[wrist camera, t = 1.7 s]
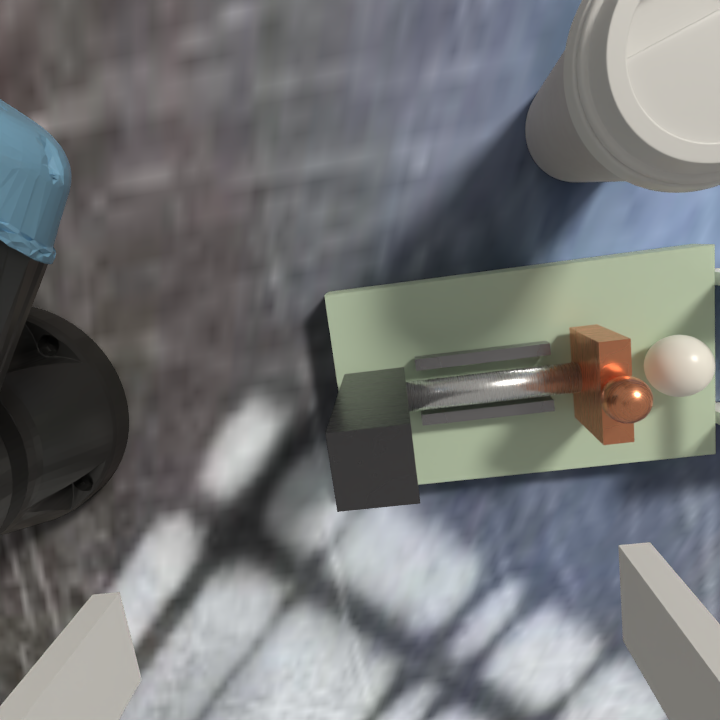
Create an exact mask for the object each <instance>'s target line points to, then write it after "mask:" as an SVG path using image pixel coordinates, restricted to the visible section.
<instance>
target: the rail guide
mask: <svg viewBox="0 0 720 720" xmlns="http://www.w3.org/2000/svg"><path fill="white" fill-rule="evenodd" d="M546 355H551V348H550V343H549V342H547V341H538V342H530V343H522V344H514V345H505V346H497V347H489V348H481V349H472V350H464V351H456V352H448V353H439V354H431V355H423V356H415V357H414V359H415V367H416V371H420V370H428V369H436V368H445V367H453V366H462V365H470V364H478V363H487V362H495V361H504V360H512V359H520V358H529V357H537V356H546ZM551 411H555V408H554V400H553V399H552V398H551V397H550V396H545V397H536V398H527V399H518V400H509V401H501V402H492V403H483V404H474V405H465V406H457V407H448V408H439V409H430V410H421V418H422V425H423V426H425V425H434V424H443V423H452V422H461V421H470V420H479V419H488V418H497V417H506V416H515V415H524V414H533V413H542V412H551Z"/></svg>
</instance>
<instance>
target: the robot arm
mask: <svg viewBox="0 0 720 720" xmlns="http://www.w3.org/2000/svg"><path fill="white" fill-rule="evenodd" d="M70 187H71V169H70V165H69V161H68V159H67V157H66V155H65V152H64V151H63V149H62V148H61V146H60V145H59V143H58V142H57V141H56V140H55V139H54V138H53V137H52V135H50V134H49V133H48V132H47V131H46V130H45V129H44V128H42V127H41V126H40V125H38V124H37V123H35V122H34V121H33V120H31V119H30V118H28V117H27V116H25V115H24V114H22V113H21V112H19V111H18V110H16V109H14V108H13V107H11V106H10V105H8V104H7V103H5V102H3V101H2V100H0V535H3V534H7V533H10V532H13V531H17V530H20V529H23V528H27V527H30V526H33V525H37V524H40V523H43V522H47V521H50V520H53V519H56V518H59V517H61V516H63V515H65V514H67V513H69V512H71V511H72V510H74V509H76V508H77V507H79V506H80V505H82V504H83V503H84V502H85V501H86V500H88V499H89V498H90V497H91V496H92V495H93V494H95V493H96V492H97V491H98V490H99V489H100V488H102V487H103V486H104V485H105V484H106V482H107V481H108V480H109V479H110V478H111V476H112V475H113V474H114V472H115V471H116V469H117V467H118V466H119V463H120V461H121V459H122V457H123V454H124V451H125V448H126V444H127V439H128V432H129V413H128V406H127V400H126V396H125V393H124V390H123V387H122V384H121V381H120V379H119V377H118V375H117V373H116V371H115V369H114V367H113V366H112V364H111V362H110V361H109V359H108V358H107V356H106V355H105V354H104V352H103V351H102V350H101V349H100V348H99V346H98V345H97V344H96V343H95V342H94V341H93V340H92V339H91V338H90V337H89V336H88V335H86V334H85V333H84V332H83V331H82V330H80V329H79V328H77V327H76V326H75V325H73V324H72V323H70V322H68V321H67V320H65V319H63V318H61V317H59V316H57V315H55V314H53V313H50V312H48V311H45V310H42V309H38V308H35V307H32V304H33V302H34V299H35V296H36V294H37V291H38V289H39V286H40V283H41V281H42V278H43V276H44V273H45V270H46V268H47V265H48V264H53V261H54V259H55V254H56V251H55V249H54V247H53V246H54V242H55V239H56V235H57V231H58V228H59V224H60V220H61V217H62V214H63V211H64V207H65V204H66V201H67V198H68V195H69V191H70ZM619 565H620V586H621V607H622V628H623V641H624V643H625V645H626V646H627V648H628V650H629V652H630V653H631V655H632V657H633V659H634V660H635V662H636V664H637V666H638V667H639V669H640V671H641V672H642V674H643V676H644V678H645V679H646V681H647V683H648V685H649V686H650V688H651V690H652V691H653V693H654V695H655V697H656V698H657V700H658V702H659V704H660V705H661V707H662V709H663V710H664V712H665V714H666V716H667V717H668V719H669V720H720V624H719V623H718V622H717V621H716V619H715V618H714V617H713V616H712V615H711V614H710V612H709V611H708V610H707V609H706V608H705V606H704V605H703V604H702V603H701V602H700V601H699V599H698V598H697V597H696V596H695V595H694V594H693V592H692V591H691V590H690V589H689V588H688V587H687V585H686V584H685V583H684V582H683V581H682V579H681V578H680V577H679V576H678V575H677V574H676V572H675V571H674V570H673V569H672V568H671V567H670V565H669V564H668V563H667V562H666V561H665V559H664V558H663V557H662V556H661V555H660V554H659V552H658V551H657V550H656V549H655V548H654V547H653V545H652V544H651V543H650V542H649V543H638V544H628V545H619ZM141 680H142V679H141V675H140V671H139V667H138V663H137V659H136V655H135V651H134V647H133V643H132V639H131V635H130V631H129V627H128V623H127V619H126V615H125V611H124V607H123V604H122V600H121V596H120V592H117V593H106V594H95V595H92V596H91V597H90V599H89V600H88V601H87V602H86V603H85V605H84V606H83V607H82V608H81V609H80V611H79V612H78V613H77V614H76V615H75V617H74V618H73V619H72V620H71V621H70V623H69V624H68V625H67V626H66V627H65V629H64V630H63V631H62V632H61V633H60V635H59V636H58V637H57V638H56V639H55V641H54V642H53V643H52V644H51V645H50V647H49V648H48V649H47V650H46V651H45V653H44V654H43V655H42V656H41V658H40V659H39V660H38V661H37V662H36V664H35V665H34V666H33V667H32V668H31V670H30V671H29V672H28V673H27V674H26V676H25V677H24V678H23V679H22V680H21V682H20V683H19V684H18V685H17V686H16V688H15V689H14V690H13V691H12V692H11V694H10V695H9V696H8V697H7V698H6V700H5V701H4V702H3V703H2V704H1V706H0V720H119V719H120V717H121V715H122V714H123V712H124V710H125V708H126V706H127V705H128V703H129V701H130V699H131V698H132V696H133V694H134V692H135V690H136V689H137V687H138V685H139V683H140V681H141Z"/></svg>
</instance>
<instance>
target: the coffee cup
mask: <svg viewBox="0 0 720 720" xmlns="http://www.w3.org/2000/svg"><path fill="white" fill-rule="evenodd" d="M525 135H526V142H527V146H528V149H529V152H530V154H531V156H532V158H533V159H534V161H535V162H536V164H537V165H538V166H539V167H540V168H541V169H542V170H543V171H544V172H546V173H547V174H548V175H550V176H552V177H554V178H556V179H559V180H562V181H566V182H615V181H627V182H629V183H631V184H634V185H636V186H639V187H642V188H646V189H649V190H654V191H660V192H673V193H679V192H692V191H699V190H704V189H708V188H711V187H715V186H718V185H720V0H582V2H581V4H580V6H579V8H578V10H577V12H576V15H575V17H574V20H573V22H572V25H571V28H570V31H569V35H568V39H567V43H566V49H565V51H564V52H563V54H562V55H561V57H560V58H559V60H558V62H557V63H556V65H555V66H554V68H553V69H552V71H551V73H550V74H549V76H548V77H547V79H546V80H545V82H544V83H543V85H542V87H541V88H540V90H539V91H538V93H537V94H536V96H535V98H534V99H533V101H532V103H531V105H530V108H529V111H528V114H527V118H526V125H525Z"/></svg>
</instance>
